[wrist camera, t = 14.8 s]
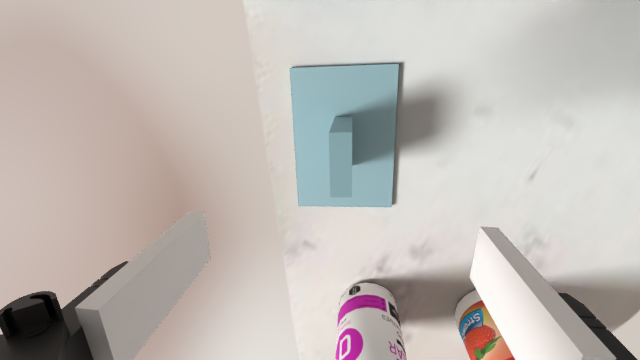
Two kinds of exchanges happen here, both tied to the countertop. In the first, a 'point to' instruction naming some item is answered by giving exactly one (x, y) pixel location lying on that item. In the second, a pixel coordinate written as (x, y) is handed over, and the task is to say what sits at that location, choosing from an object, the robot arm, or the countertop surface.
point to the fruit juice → (480, 330)
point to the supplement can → (368, 325)
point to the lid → (344, 134)
